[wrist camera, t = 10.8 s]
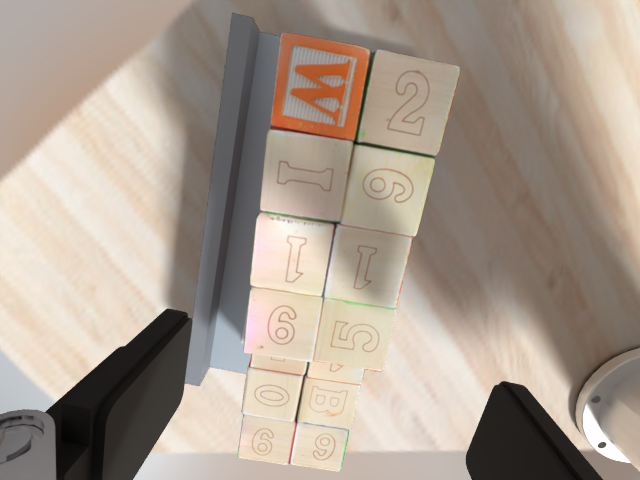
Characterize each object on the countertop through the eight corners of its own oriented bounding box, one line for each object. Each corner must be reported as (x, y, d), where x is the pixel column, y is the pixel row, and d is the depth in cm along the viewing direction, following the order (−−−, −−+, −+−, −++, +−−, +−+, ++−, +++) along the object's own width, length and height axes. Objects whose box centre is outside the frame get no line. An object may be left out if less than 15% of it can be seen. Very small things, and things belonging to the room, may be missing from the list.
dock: (432, 84, 25) (461, 67, 20) (352, 372, 32) (358, 416, 27) (251, 41, 25) (232, 12, 20) (207, 344, 31) (184, 383, 26)
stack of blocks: (334, 372, 28) (342, 533, 16) (261, 360, 28) (216, 514, 16) (392, 108, 23) (467, 61, 11) (303, 91, 23) (280, 24, 11)
